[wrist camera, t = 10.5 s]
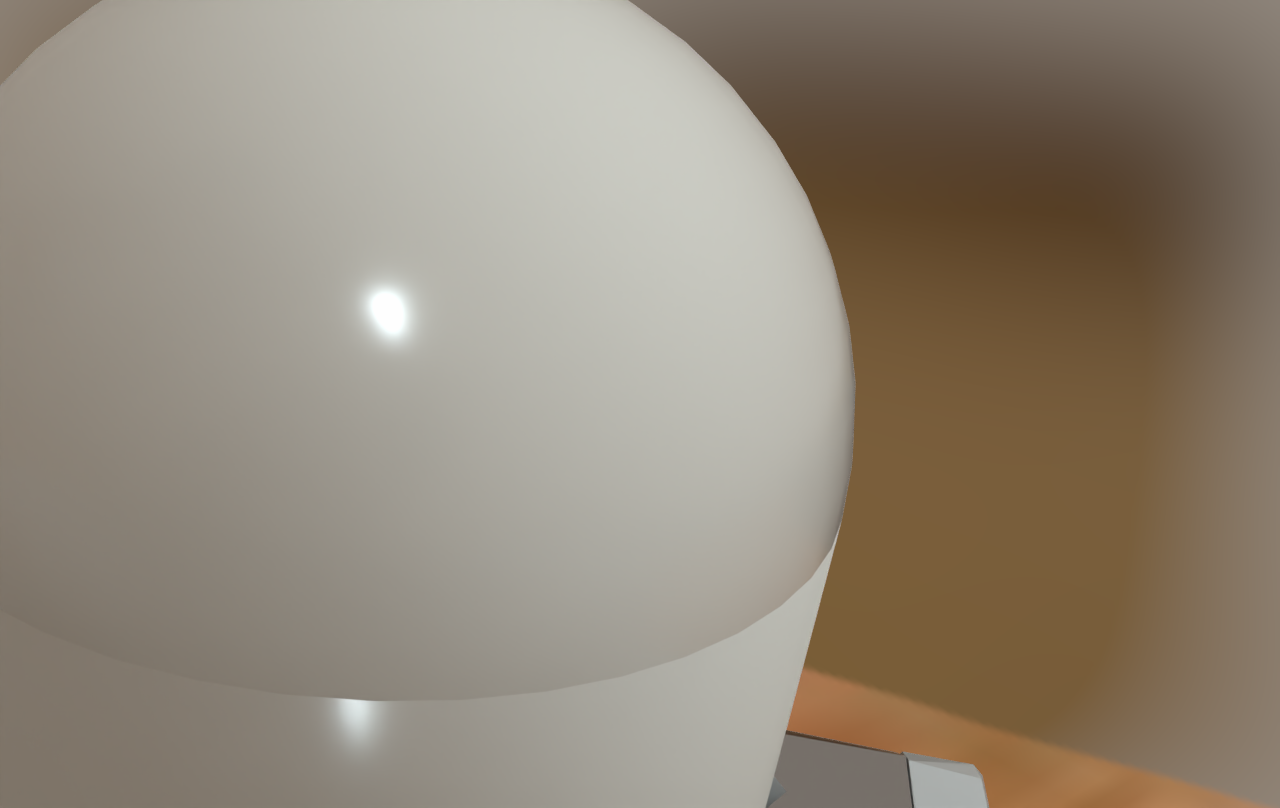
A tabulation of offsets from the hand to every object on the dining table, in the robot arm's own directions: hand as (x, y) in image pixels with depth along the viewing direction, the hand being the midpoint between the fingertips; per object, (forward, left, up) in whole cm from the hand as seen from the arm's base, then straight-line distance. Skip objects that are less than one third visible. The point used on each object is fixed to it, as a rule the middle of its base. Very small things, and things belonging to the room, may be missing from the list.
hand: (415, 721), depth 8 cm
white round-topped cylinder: (0, -1, -6) cm, 6 cm away
